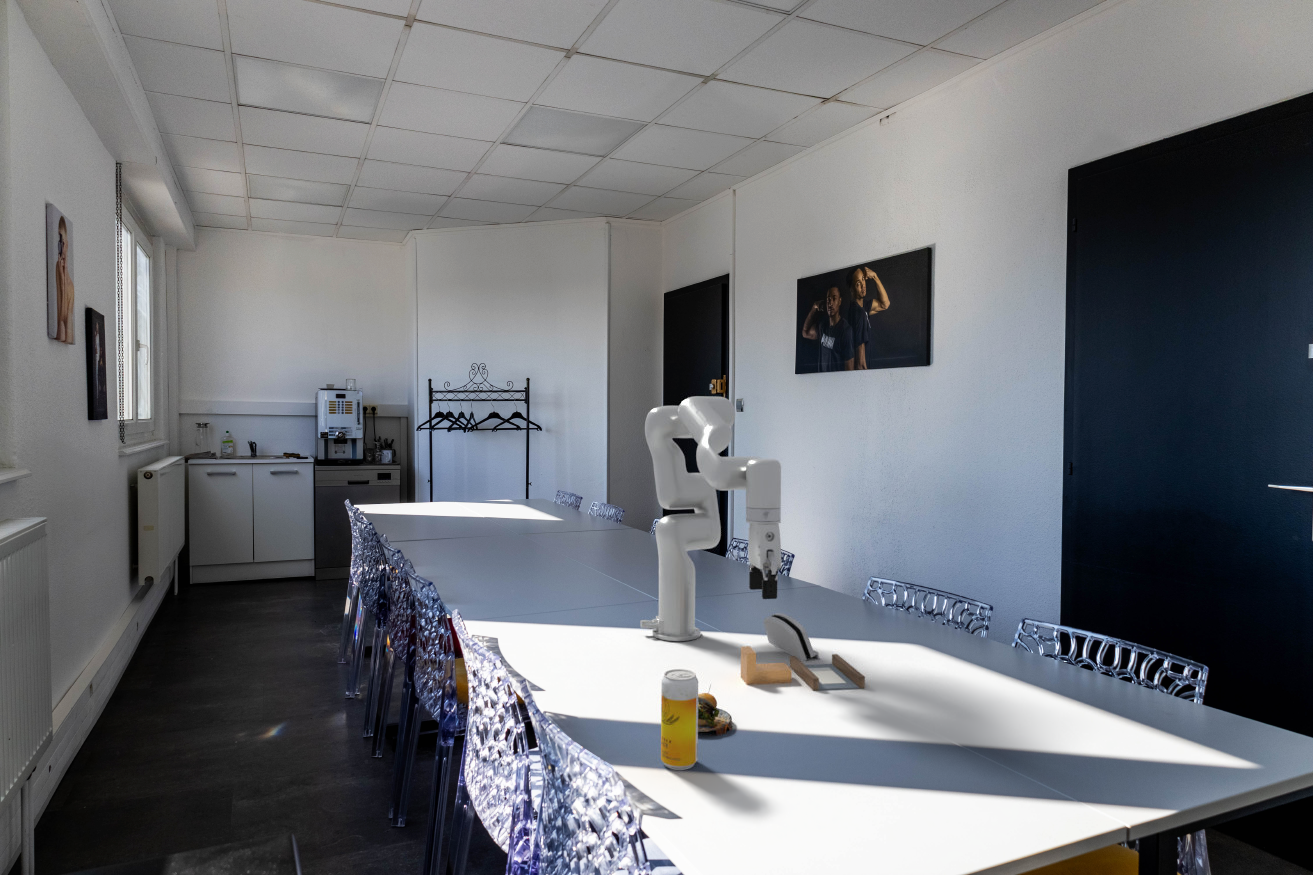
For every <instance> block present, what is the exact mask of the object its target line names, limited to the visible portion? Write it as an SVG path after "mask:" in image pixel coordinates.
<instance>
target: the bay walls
mask: <svg viewBox="0 0 1313 875" xmlns="http://www.w3.org/2000/svg"><path fill="white" fill-rule="evenodd" d="M831 664H832V665H834V666H835V667H836V668H837V669H838V670H839V671H841V672H842V673H843V674H844V675H845V676H846V677H848V678H849V679H850V680H851V681H852V682H853V683H855V684H856V685H857V686H858V687H859V690H860V689H865V688H866V686H865V684H866V676H865V675H864V674H862V673H861V672H860V671H859V670H857V669H856V668H855V667H854V666H853V665H851V664H850V663H849V662H848V661H846V660H845V659H844V658H842V656H840V655H839V654H836V653H834V654H833V653H832V654H831ZM805 665H806V664H804V663H803V661H801V660H799V659H798V658H797V657H795V656H792V655H789V668H790V669H791V670H792V671H793V673H795V674H796V675H797V676H798V677H799V678H800V679H801V680H802V681H803V682H804V683H805V684H806V685H807V686H808V687H809V688H810V689H811V690H812V691H815V692H816V691H820V690H819V678H818V677H817V676H816V675H815V674H814V673H812V672H811V671H810V670H809V669H808V668H807V667H806V666H805Z"/></svg>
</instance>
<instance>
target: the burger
mask: <svg viewBox="0 0 1313 875" xmlns="http://www.w3.org/2000/svg"><path fill="white" fill-rule="evenodd" d="M711 686H712V684H710V686H709V689H708V692H701V693H698V733H699V732H700V733H703V732H706V733H708V732H715V731H716V733H715V734H716V736H722V735H723V734H726V732H727V728H728V729H729V731H731V730H732V729H733V718H732V715H731V714H730V713H728V711H726V710H724V709H722V708H721V709H720V708H717V706H718V702H717V699H716V697H715V695H713V694H711V693H710V690H711Z"/></svg>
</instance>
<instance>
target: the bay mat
mask: <svg viewBox="0 0 1313 875" xmlns="http://www.w3.org/2000/svg"><path fill="white" fill-rule="evenodd" d="M804 665H805V666H806V667H807V668H808V669H809V670H810V671H811V672H812V673H814V674H815V675H816V676H817V677H818V678H819V690H818V691H832V690H855V689H857V690H858V689H859V687H858V686H857V685H856V684H855V683H853V682H852V681H851V680H850V679H849V678H848V677H846V676H845V675H844V674H843V673H842V672H841V671H839V670H838V669H837V668H836V667H835V666H834V665H832V663H817V664H804ZM859 690H860V689H859Z"/></svg>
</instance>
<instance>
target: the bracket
mask: <svg viewBox="0 0 1313 875" xmlns="http://www.w3.org/2000/svg"><path fill="white" fill-rule="evenodd" d="M792 671H793V670H792V669H791V668H790V666H789V665H787V663H785V662H771V663H770V662H769V663H767V662H766V663H757V653H756V651H755V650H754V649H753V648H752V647H751V646H745V645H744V646H740V679H741V680H742V681H743V682H744V683H745V685H748V686H749V685H769V684H770V685H771V684H791V683H792V674H793V673H792Z"/></svg>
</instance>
